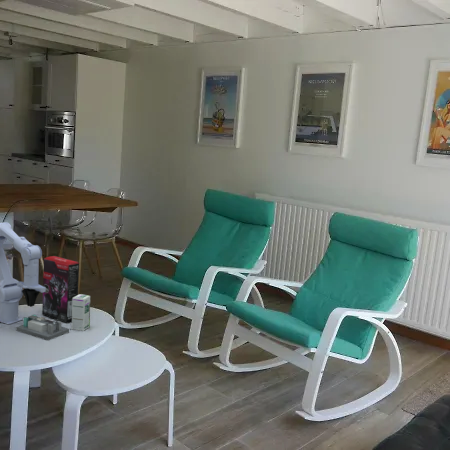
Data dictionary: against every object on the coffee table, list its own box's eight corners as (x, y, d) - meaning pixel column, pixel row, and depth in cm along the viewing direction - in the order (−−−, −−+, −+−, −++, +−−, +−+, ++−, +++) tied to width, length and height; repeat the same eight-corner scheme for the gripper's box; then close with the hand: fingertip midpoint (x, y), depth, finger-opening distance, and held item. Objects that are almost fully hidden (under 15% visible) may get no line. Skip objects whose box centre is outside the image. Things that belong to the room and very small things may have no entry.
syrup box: (83, 331, 226) (85, 298, 224) (71, 329, 227) (72, 297, 225) (89, 327, 231) (91, 295, 229) (77, 325, 232) (78, 293, 230)
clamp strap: (27, 321, 223) (27, 316, 223) (32, 319, 225) (32, 314, 225) (53, 328, 217) (53, 323, 216) (58, 327, 219) (58, 321, 219)
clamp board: (16, 330, 221) (16, 318, 220) (38, 322, 231) (38, 311, 231) (48, 340, 213) (48, 327, 212) (69, 332, 223) (69, 320, 223)
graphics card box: (40, 315, 241) (42, 257, 237) (52, 311, 247) (54, 255, 243) (66, 324, 233) (68, 264, 229) (78, 320, 239) (80, 261, 235)
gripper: (11, 273, 219) (11, 304, 221) (36, 279, 213) (36, 311, 215) (24, 270, 226) (24, 301, 227) (49, 276, 219) (49, 307, 221)
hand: (30, 305), depth 222 cm, fingers closed
